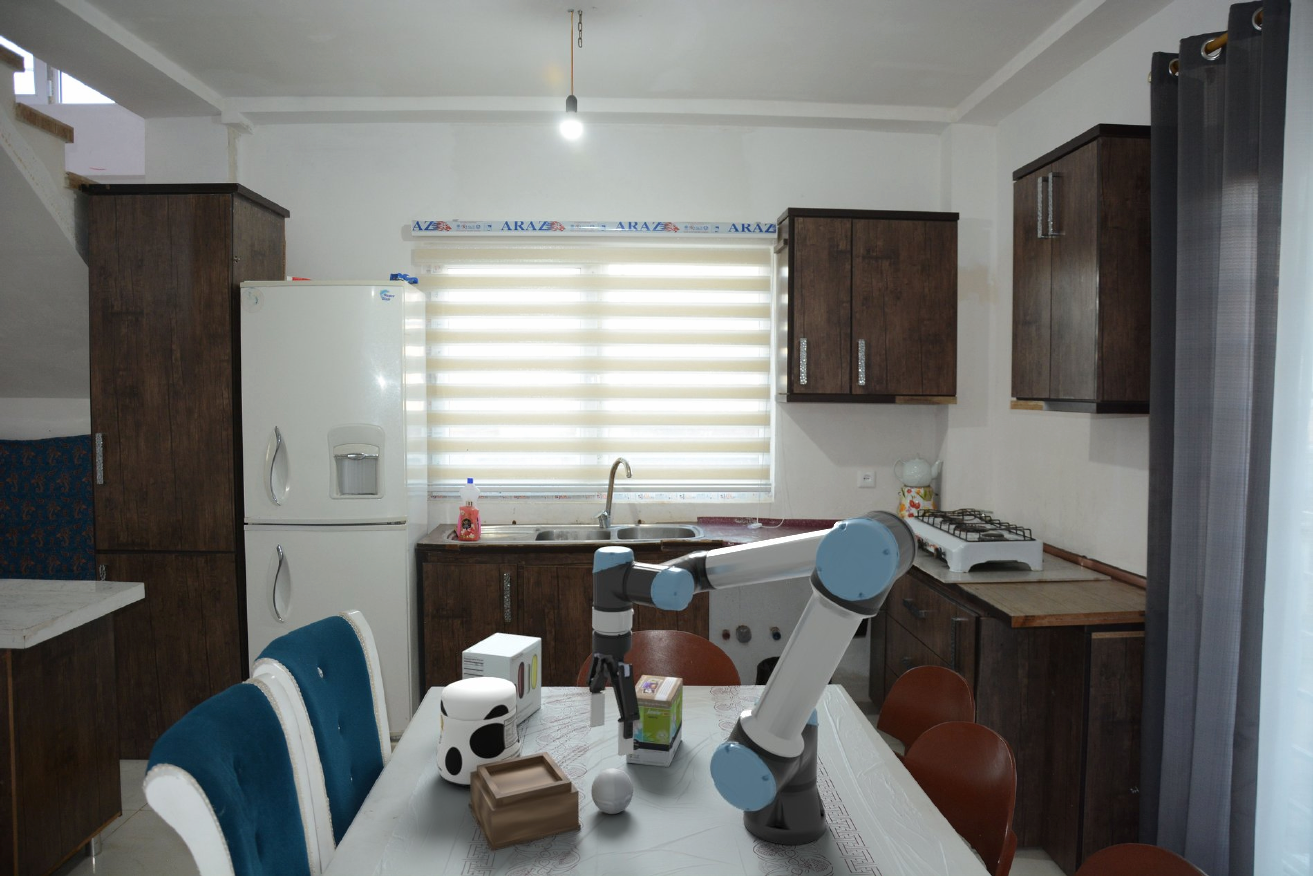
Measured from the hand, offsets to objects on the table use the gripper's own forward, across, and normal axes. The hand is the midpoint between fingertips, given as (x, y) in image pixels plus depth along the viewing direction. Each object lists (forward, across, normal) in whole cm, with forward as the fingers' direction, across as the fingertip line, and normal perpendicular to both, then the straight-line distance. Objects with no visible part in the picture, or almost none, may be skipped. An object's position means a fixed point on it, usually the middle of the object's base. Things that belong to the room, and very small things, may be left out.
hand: (610, 739), depth 154 cm
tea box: (+14, +20, -19) cm, 31 cm away
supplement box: (+15, +54, +6) cm, 56 cm away
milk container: (+15, +26, +19) cm, 35 cm away
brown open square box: (+14, +4, +16) cm, 22 cm away
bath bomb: (+14, 0, 0) cm, 14 cm away
